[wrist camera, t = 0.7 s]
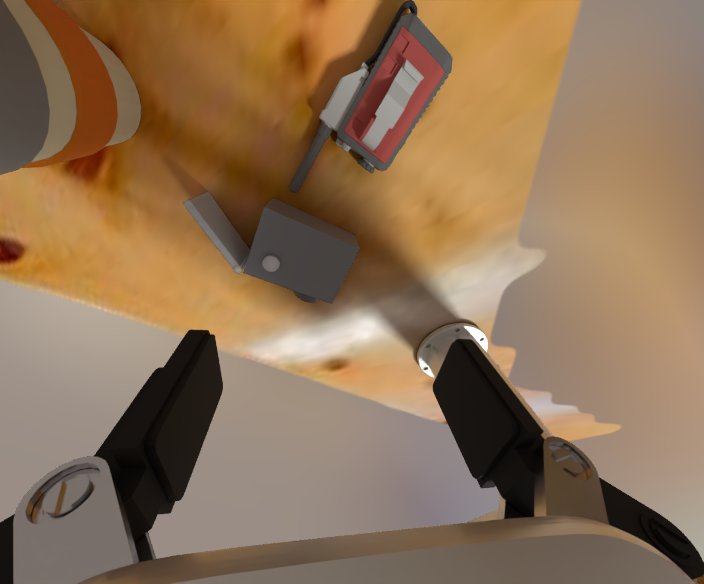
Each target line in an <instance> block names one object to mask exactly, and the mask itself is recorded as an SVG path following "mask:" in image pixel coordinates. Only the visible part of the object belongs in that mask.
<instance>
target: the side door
mask: <svg viewBox="0 0 704 584" xmlns="http://www.w3.org/2000/svg"><path fill="white" fill-rule="evenodd" d="M182 204H183V205H184V206H185V207H186V209H187V210H188V211H189V213H190V214H191V215H192V216H193V218H194V219H195V220H196V222H197V223H198V224H199V225H200V227H201V228H202V229H203V231H204V232H205V233H206V234H207V236H208V237H209V238H210V240H211V241H212V242H213V243H214V245H215V246H216V247H217V249H218V250H219V251H220V252H221V254H222V255H223V256H224V258H225V259H226V260H227V261H228V263H229V264H230V265H231V267H232V268H233V270H234V272H235V273H241V272H242V270H243V268H244V267H245V265H246V263H247V260H248V256H249V253H250V249H249V248H248V247H247V245H246V244H245V242H244V241H243V240H242V238H241V237H240V235H239V234H238V232H237V231H236V230H235V228H234V227H233V225H232V224H231V223H230V221H229V220H228V218H227V217H226V215H225V214H224V213H223V211H222V210H221V208H220V207H219V206H218V204H217V203H216V201H215V200H214V198H213V197H212V196H211V194H210V193H209V192H207V193H204V194H202V195H199V196H197V197H194V198H192V199H189V200H187V201H185V202H184V203H182Z"/></svg>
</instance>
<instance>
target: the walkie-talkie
mask: <svg viewBox="0 0 704 584" xmlns="http://www.w3.org/2000/svg"><path fill="white" fill-rule="evenodd" d="M407 8H409V9H410V11H411V12H412V13H409V14H406V15H403V16H401V14H402V13H403V11H404V10H405V9H407ZM400 16H401V17H400ZM397 21H398V22H397ZM392 30H393V31H392ZM386 41H387V42H386ZM377 57H378V58H377ZM376 59H377V60H376ZM375 60H376V61H375ZM374 61H375V63H374V65H373V67H372V68H371V70H370V72H368V71H367V70H368V68H369V67H368V66H369V65H370V64H372V63H373V62H374ZM451 69H452V57H451V55H450V54H449V52H448V51H447V50H446V49H445V48H444V47H443V45H442V44H441V43H440V42H439V41H438V40H437V39H436V37H435V36H434V35H433V34H432V33H431V32H430V31H429V30H428V28H427V27H426V26H425V25H424V24H423V23H422V22H421V20H420V19H419V18H418V17H417V7H416V5H415V3H414V1H412V0H407V1H406V2H404V3H403V5H402V6H401V7H400V9H399V11H398V12H397V14H396V16H395V18H394V20H393V22H392V23H391V25H390V27H389V29H388V31H387V33H386V34H385V36H384V38H383V40H382V42H381V44H380V45H379V47H378V49H377V51H376V52H375V54H374V55H373V56H372V57H371V58H370V59H368V60H367V62H366V63H364V62H363V64H362V66H361V68H360V70H358V71H356V72H353V73H351V74H349V75H346V76H344V77H342V78H341V79H340V81H339V82H338V84H337V86H336V88H335V90H334V92H333V94H332V96H331V98H330V100H329V102H328V103H327V105H326V107H325V109H323V110H322V112H321V114H320V116H319V119H321V120H322V122H321V124H320V126H319V128H318V130H317V135H316V137H315V139H314V141H313V143H312V145H311V146H310V148H309V150H308V152H307V154H306V156H305V158H304V160H303V162H302V164H301V166H300V167H299V169H298V171H297V173H296V175H295V177H294V179H293V181H292V183H291V185H290V187H289V189H290V191H291V192H292V193H296V192H298V190H299V188H300V186H301V184H302V182H303V181H304V179H305V177H306V175H307V173H308V171H309V170H310V168H311V166H312V164H313V162H314V160H315V158H316V157H317V155H318V153H319V151H320V149H321V147H322V145H323V144H324V142H325V140H327V139H328V137H329V136H330V134H331V132H332V130H334V131H335V132H337V140H336V142H335V143H336V144H337V145H338V146H340V147H342V148H343V149H344V150H345V151H347V152H348V151H349V149H352V150H353V151H355V152H356V153H357V154H359V155H360V156H361V157H362V158H363V159H359V160H358V163H359V164H360V165H361V166H362V167H364V168H365V169H366V170H368V171H369V172H370V173H373V172H374V168H373V167H375V168H376V169H378V170H380V171H384V170H387V168H388V167H389V166H390V164H391V163H392V161H393V160H394V158H395V156H396V155H397V153H398V152H399V150H400V149H401V148H402V146H403V145H404V143H405V142H406V139H407V138H408V136H409V135H410V133H411V132H412V131H411V130H412V129H413V128H414V127H415V124H416V123H418V120H419V118H421V117H422V114H423V113H424V112H425V109H426V108H427V107H428V106H429V103H430V102H431V101H432V100H433V97H434V96H436V93H437V91H438V90H440V87H441V85H443V84H444V80H445V79H447V78H448V74H449V73H451Z"/></svg>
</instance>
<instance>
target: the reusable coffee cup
mask: <svg viewBox="0 0 704 584" xmlns="http://www.w3.org/2000/svg"><path fill="white" fill-rule="evenodd" d="M140 119H141V104H140V99H139V94H138V91H137V89H136V86H135V83H134V81H133V79H132V78H131V76H130V74H129V72H128V70H127V69H126V68H125V66H124V65H123V63H122V62H121V60H120V59H119V58H118V57H117V56H116V55H115V54H114V53H113V52H112V51H111V50H110V49H109V48H108V47H107V46H106V45H105V44H103V43H102V42H101V41H100V40H98V39H97V38H95V37H94V36H92V35H91V34H89V33H88V32H87V31H85V30H84V29H82V28H81V27H79V26H78V25H77V24H76V23H75V22H74V21H73V20H72V19H71V18H70V17H69V16H68V15H67V14H66V13H65V12H64V11H63V10H62V9H60V8H59V7H58V6H57V5H56V4H55V3H53V2H52V1H51V0H0V175H1V174H5V173H8V172H12V171H16V170H18V169H20V168H30V167H43V166H47V165H52V164H56V163H60V162H64V161H68V160H73V159H77V158H81V157H85V156H89V155H92V154H95V153H96V152H98V151H100V150H101V149H103V148H104V147H105V146H109V145H114V144H118V143H122V142H124V141H126V140H128V139H129V138H131V137H132V136H133V134H134V133H135V132H136V130H137V128H138V126H139V123H140Z"/></svg>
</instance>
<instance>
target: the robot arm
mask: <svg viewBox="0 0 704 584" xmlns="http://www.w3.org/2000/svg"><path fill="white" fill-rule="evenodd" d="M487 347H488V342H487V338H486V336H485V335H484V333H483V332H482V331H481V330H480V329H479V328H478V327H476V326H474V325H472V324H467V323H454V324H449V325H446V326H443V327H441V328H439V329H437V330H435V331H434V332H432V333H431V334H430V335H428V336H427V337H426V338H425V339H424V341H423V342H422V343H421V345H420V347H419V349H418V352H417V361H418V364H419V366H420V368H421V370H422V371H423V372H424V373H425V374H427V375H429V376H430V377H434V378H435V381H434V384H433V392H434V394H435V397H436V399H437V401H438V403H439V405H440V408H441V410H442V412H443V414H444V416H445V418H446V421H447V423H448V425H449V427H450V429H451V431H452V434H453V436H454V438H455V440H456V442H457V444H458V447H459V449H460V451H461V453H462V455H463V457H464V460H465V462H466V464H467V466H468V468H469V470H470V473H471V474H472V476H473V477H474V478H475V479H477V481H478V483H479V485H480V487H481V488H490V487H495V486H496V487H497V489H498V491H499V493H500V497H499V506H498V509H497V510H495V511H492V512H490V513H487V514H485V515H483V516H480V517H478V518H476V519H474V520H472V521H469V522H467V523H460V524H450V525H440V526H430V527H420V528H412V529H402V530H392V531H382V532H374V533H364V534H355V535H345V536H335V537H326V538H318V539H308V540H299V541H291V542H281V543H273V544H263V545H254V546H246V547H238V548H229V549H222V550H215V551H206V552H199V553H191V554H184V555H176V556H170V557H165V558H160V559H156V556H155V553H154V550H153V546H152V544H151V540H150V537H149V533H148V531H149V530H150V529H151V528H152V526H153V524H154V521H155V519H156V517H157V514H168V513H171V511H172V508H173V505H174V503H175V501H179V500H181V498H182V497H183V495H184V492H185V490H186V487H187V485H188V482H189V480H190V477H191V474H192V472H193V469H194V466H195V463H196V461H197V458H198V456H199V453H200V450H201V448H202V445H203V442H204V439H205V437H206V434H207V432H208V429H209V426H210V424H211V421H212V418H213V415H214V413H215V410H216V408H217V405H218V402H219V400H220V397H221V394H222V390H223V382H222V377H221V371H220V364H219V358H218V352H217V346H216V340H215V336H214V335H212V334H210V333H209V331H208V330H189V331H188V332H187V333H186V335H185V336H184V338H183V339H182V341H181V342H180V344H179V345H178V347H177V348H176V350H175V351H174V353H173V354H172V356H171V357H170V359H169V360H168V362H167V363H166V365H165V366H164V368H158V369H156V370H155V371H154V372H153V373H152V375H151V376H150V377H149V379H148V380H147V382H146V383H145V385H144V386H143V387H142V389H141V390H140V392H139V393H138V394H137V396H136V397H135V399H134V400H133V402H132V403H131V405H130V406H129V407H128V409H127V410H126V411H125V413H124V414H123V416H122V417H121V418H120V420H119V421H118V423H117V424H116V426H115V427H114V429H113V430H112V431H111V433H110V434H109V435H108V437H107V438H106V440H105V441H104V443H103V444H102V446H101V447H100V448H99V450H98V451H97V452H96V454H95V455H94V457H91V456H87V457H83V458H78V459H75V460H73V461H70V462H68V463H65V464H63V465H61V466H59V467H58V468H56V469H54V470H53V471H51V472H49V473H48V474H47V475H45V476H44V477H43V478H42V479H40V480H39V481H38V482H37V483H36V484H34V486H33V487H32V488H31V489H30V490H29V491H28V492H27V493H26V494H25V495H24V497H23V498H22V500H21V502H20V503H19V505H18V507H17V509H16V512H15V514H14V515H12V516H11V517H9V518H7V519H5V520H4V521H2V522H1V523H0V584H704V562H703V561H702V558H701V557H700V554H699V552H698V551H697V550H696V548H695V547H694V546H693V544H692V543H691V542H690V541H689V540H688V538H687V537H686V536H685V535H684V534H683V533H682V532H681V531H680V530H679V529H678V528H677V527H676V526H674V525H673V524H672V523H671V522H670V521H668V520H667V519H666V518H664V517H663V516H661V515H660V514H658V513H657V512H655V511H653V510H652V509H650V508H649V507H647V506H645V505H644V504H642V503H640V502H638V501H637V500H635V499H634V498H632V497H630V496H629V495H627V494H625V493H624V492H622V491H621V490H619V489H617V488H616V487H614V486H612V485H611V484H609V483H607V482H606V481H604V480H602V479H601V478H599V476H598V473H597V470H596V468H595V466H594V465H593V463H592V462H591V460H590V459H589V458H588V457H587V456H586V455H585V454H584V453H583V452H582V451H581V450H579V448H577V447H576V446H575V445H573V444H572V443H570V442H568V441H566V440H564V439H562V438H559V437H554V436H553V434H552V433H551V432H550V431H549V429H548V428H547V427H546V426H545V425H544V423H543V422H542V421H541V420H540V418H539V417H538V416H537V415H536V413H535V412H534V411H533V410H532V408H531V407H530V406H529V405H528V403H527V402H526V401H525V400H524V398H523V397H522V396H521V395H520V393H519V392H518V391H517V390H516V388H515V387H514V386H513V385H512V383H511V382H510V381H509V379H508V378H507V377H506V376H505V374H504V373H503V372H502V371H501V369H500V367H499V365H498V364H496V363H495V362H494V361H493V359H492V358H491V357H490V356H489V354H488V353H487V352H486V351H487Z"/></svg>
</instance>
